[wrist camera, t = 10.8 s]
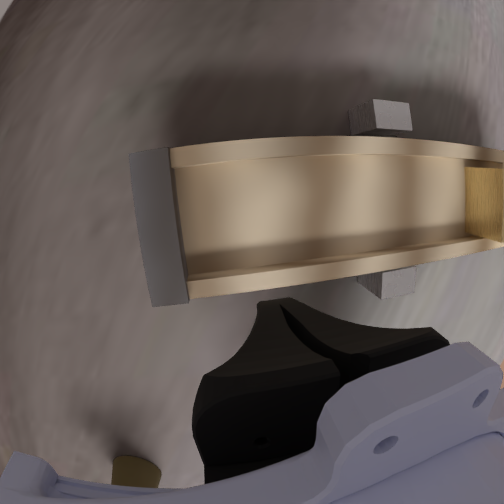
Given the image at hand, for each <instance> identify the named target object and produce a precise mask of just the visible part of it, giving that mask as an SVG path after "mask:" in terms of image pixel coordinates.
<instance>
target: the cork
mask: <svg viewBox="0 0 504 504" xmlns="http://www.w3.org/2000/svg"><path fill="white" fill-rule="evenodd" d="M161 475H162V474H161V471H160V470H159V468H158V467H157V466H155V465H154V464H153V463H151V462H149V461H147V460H145V459H141V458H138V457H134V456H120V457H116V458H115V459H114V461H113V470H112V482H111V485H119V486H129V487H143V488H158V485H159V482H160V479H161Z"/></svg>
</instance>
